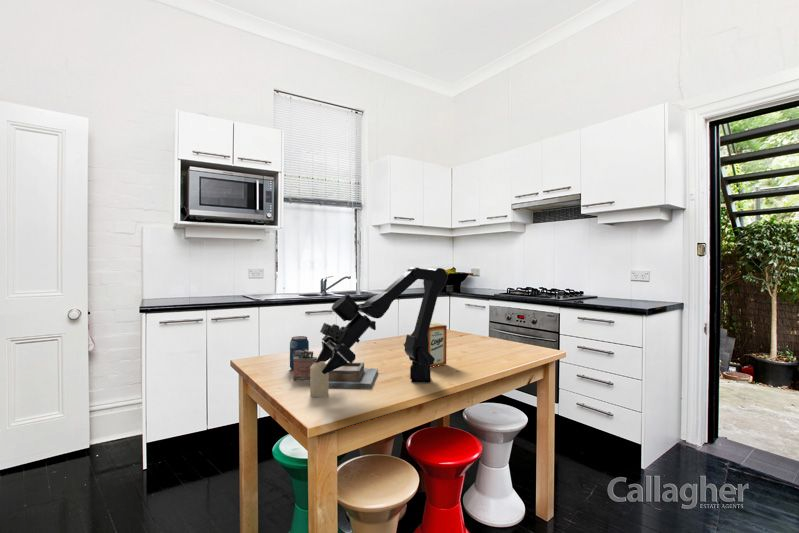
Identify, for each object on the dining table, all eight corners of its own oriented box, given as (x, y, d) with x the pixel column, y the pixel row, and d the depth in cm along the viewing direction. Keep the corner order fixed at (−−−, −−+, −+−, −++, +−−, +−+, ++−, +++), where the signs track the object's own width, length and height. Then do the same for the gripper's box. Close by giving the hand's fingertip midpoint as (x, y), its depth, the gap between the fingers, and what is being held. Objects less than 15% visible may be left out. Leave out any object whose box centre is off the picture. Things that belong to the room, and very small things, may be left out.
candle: (320, 390, 125) (320, 358, 125) (332, 394, 122) (332, 361, 122) (306, 394, 121) (306, 362, 121) (318, 398, 117) (318, 365, 117)
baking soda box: (427, 368, 152) (427, 326, 151) (417, 364, 157) (417, 324, 157) (446, 364, 157) (446, 324, 157) (435, 361, 162) (436, 322, 162)
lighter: (317, 377, 139) (317, 349, 139) (315, 380, 135) (315, 351, 135) (294, 377, 138) (294, 349, 138) (292, 380, 135) (292, 351, 135)
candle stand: (377, 372, 145) (377, 360, 145) (371, 388, 127) (371, 374, 127) (324, 371, 147) (324, 359, 147) (309, 386, 129) (310, 373, 129)
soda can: (293, 372, 144) (293, 340, 144) (287, 368, 150) (287, 337, 150) (311, 369, 148) (311, 338, 148) (304, 365, 154) (304, 335, 154)
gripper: (328, 310, 132) (294, 346, 127) (345, 317, 115) (307, 359, 110) (350, 332, 135) (318, 368, 131) (370, 342, 118) (334, 384, 114)
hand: (319, 369), depth 121 cm, fingers open, 9 cm apart
